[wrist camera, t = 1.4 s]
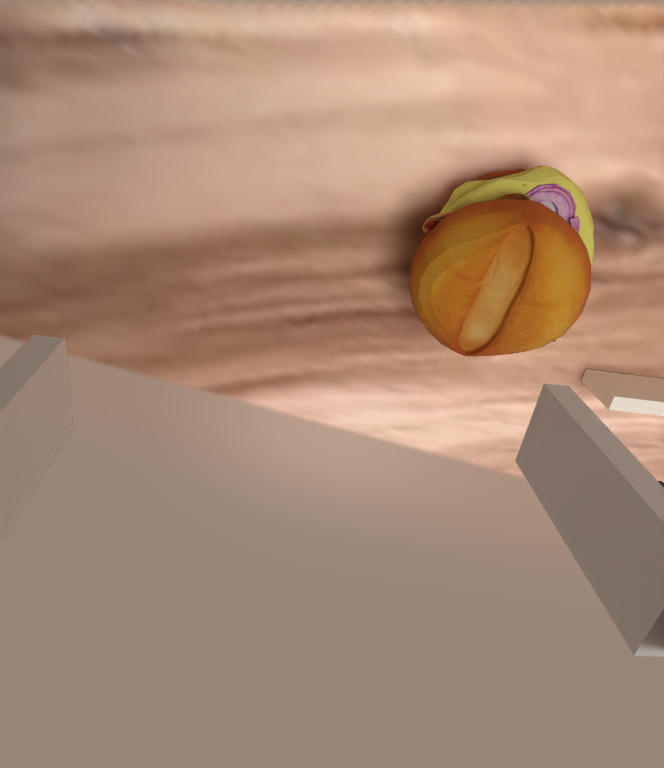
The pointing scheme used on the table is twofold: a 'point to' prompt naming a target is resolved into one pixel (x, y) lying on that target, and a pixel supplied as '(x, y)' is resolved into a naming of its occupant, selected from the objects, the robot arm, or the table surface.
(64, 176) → the table surface
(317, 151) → the table surface
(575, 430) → the robot arm
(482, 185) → the cheeseburger
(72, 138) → the table surface
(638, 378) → the box
